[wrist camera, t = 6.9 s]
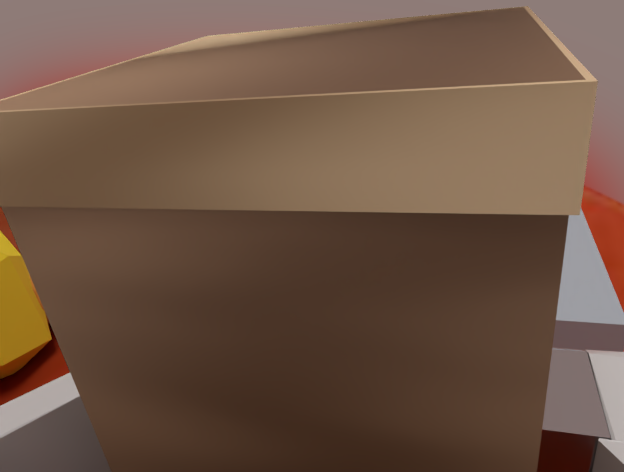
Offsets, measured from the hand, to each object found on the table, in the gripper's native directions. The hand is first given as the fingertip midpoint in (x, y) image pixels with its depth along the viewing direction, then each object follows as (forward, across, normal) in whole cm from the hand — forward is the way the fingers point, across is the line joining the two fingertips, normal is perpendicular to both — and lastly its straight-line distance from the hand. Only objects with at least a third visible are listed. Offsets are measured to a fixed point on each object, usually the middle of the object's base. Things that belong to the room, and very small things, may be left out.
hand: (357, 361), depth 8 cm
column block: (-1, 0, +7) cm, 7 cm away
